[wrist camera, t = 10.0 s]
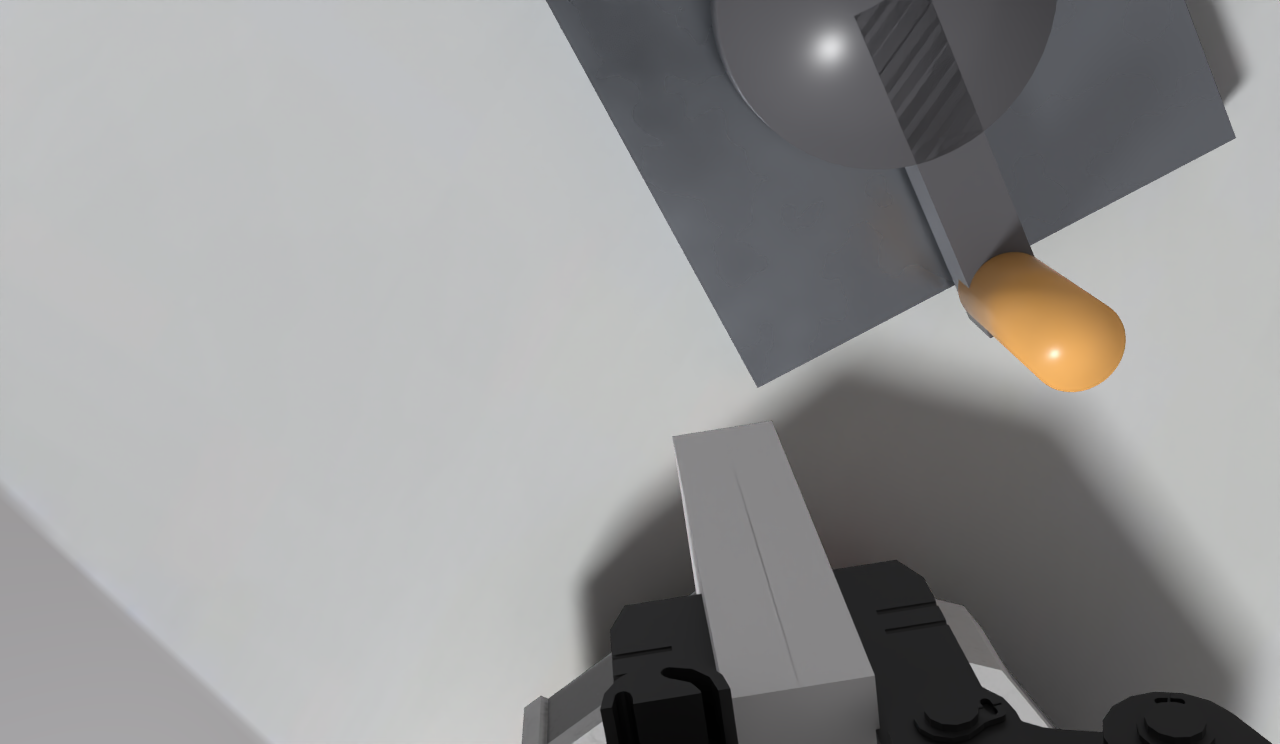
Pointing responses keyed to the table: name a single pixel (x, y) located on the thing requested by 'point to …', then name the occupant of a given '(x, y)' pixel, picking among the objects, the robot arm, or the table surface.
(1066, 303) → the domed crank handle
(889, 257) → the base
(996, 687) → the first aid kit
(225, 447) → the table surface
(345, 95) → the table surface
